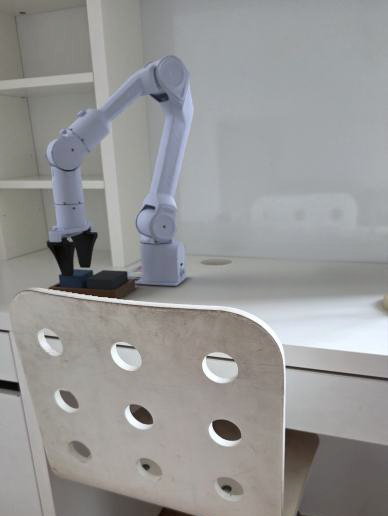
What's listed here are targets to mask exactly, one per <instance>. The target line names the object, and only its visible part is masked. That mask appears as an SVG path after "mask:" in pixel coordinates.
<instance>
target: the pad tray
mask: <svg viewBox="0 0 388 516" xmlns="http://www.w3.org/2000/svg"><path fill="white" fill-rule="evenodd" d="M49 289H53V290H60V291H66V292H72V293H78V294H85V295H92V296H98V297H108V298H117V299H119V300H121V299H122V298H123V297H125V296H127V295H128V294H129V293H131V292H133V291H134V290H135V289H136V279H128V281H127V282H126V283H124V284H122V285H121V286H119V287H117V288H116V289H114V290H103V289H85V288H67V287H60V282H57V283H55V284H53V285H50V286H49V287H48V290H49Z"/></svg>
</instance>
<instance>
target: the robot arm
mask: <svg viewBox="0 0 388 516" xmlns="http://www.w3.org/2000/svg"><path fill="white" fill-rule="evenodd" d="M191 77H192V75H191V73H190V71H189V70H188V68H187V66H186V65H185V63H184V62H183V61H182V59H181V58H179V57H177V56H176V55H174V54H173V55H171V54H168V55H165V56H163V57H162V58H160V59H157V60H154V61H150V62H147V63H146V64H145V65H143V67H142V68H140V69H138V70H137V71H136V72H134V73H132V75H130V76H129V77H128V78H127V79H126V80H125V81H124V82H123V83H122V84H121V85H120V86H119V87H118V88H117V89H116V90H115V92H113V93H112V95H111V96H110V97H108V99H107V100H106V101H105V102H104V103H103V104H101V105H100V107H99V108H98V109H97V108H87V109H86V110H84V109H82V110H79V112H78V113H77V114H76V116H77V117H78V118H76V120H74V122H72V123H71V124H70V125H69V126H68V127H67V128H66V129H65V128H62V129H61V130H60V131H59V134H60V136H61V137H58V138H55V139H53V140H52V141H50V142H49V144H48V145H47V147H46V150H45V151H46V153H45V154H44V157H45V159H46V162H47V163H48V165H49V166H50V174H51V187H52V195H53V204H54V211H55V219H56V220H55V221H56V224H55V225H53V226H52V227H51V229H52V230H50V231H48V236H49V237H48V238H49V240H46V247H47V248H48V250H49V251H50V252H51V254H52V255H53V257H54V259H55V261H56V263H57V266H58V268H59V271H60V274H62V276H73V272H74V269H75V267H74V266H75V265H74V260H75V259H74V258H75V251H76V257H77V262H78V266H79V268H81V269H90V268H91V265H92V261H93V259H92V258H93V252H94V247H95V244H96V241H97V239H98V236H99V233H98V232H97V231H94V221H93V220H88V221H87V217H86V208H85V207H86V206H85V198H84V187H83V178H82V172H81V166H82V164H83V162H84V158H85V156H88V154H90V152H92V151H93V149H95V148H96V147H97V146H98V145H99V144H100V143H101V142H102V141H103V140H104V139H105V138H107V136H108V135H109V134H110V131H111V129H110V128H111V123H112V122H113V121H114V120H115V119H116V118H118V117H119V115H121V114H122V113H123V112H124V111H125V110H126V109H128V108H129V107H130V106H131V105H132V104H134V102H136V101H137V100H139V98H141V97H144V96H148V95H149V96H150V97H151V98H152V100H154V101H155V102H157V104H158V105H159V106H160V108H161V110H162V111H163V113H164V114H165V120H164V125H163V129H162V133H161V138H160V143H159V147H158V152H157V157H156V161H155V165H154V170H153V175H152V178H151V184H150V188H149V192H148V194H147V195H146V197H144V200H143V202H142V204H141V205H142V206H141V208H140V209H139V210H138V212H137V213H136V215H135V218H134V226H135V229H136V230H137V232H138V233H139V234H140V238H139V250H140V252H139V253H140V266H141V269H142V278H141V279H137V280H135V285H145V286H146V285H147V286H148V285H149V286H167V287H177V286H178V285H180V284H181V283H182V282H184V280H186V279H187V278H188V276H187V273H186V272H187V270H186V267H187V266H186V248H185V244H184V243H183V242H182V241H175V240H174V237H175V235H176V234H177V231H178V220H177V212H178V206H177V204H176V200H175V196H176V192H177V187H178V182H179V179H180V174H181V169H182V165H183V162H184V157H185V152H186V148H187V143H188V139H189V134H190V131H191V127H192V121H193V117H194V111H195V109H194V102H193V97H192V92H191V86H190V83H191ZM69 238H70V239H71V241H70V239H69Z"/></svg>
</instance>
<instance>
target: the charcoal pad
mask: <svg viewBox="0 0 388 516" xmlns="http://www.w3.org/2000/svg"><path fill="white" fill-rule="evenodd" d="M127 273H128V271H127V270H109V269H108V270H106V269H102V270H100V271H99V272H96V273H94V274H93V276H91V277H89V278H87V279H86V280H87V289H103V290H114V289H116V288H117V287H119V286H121V285H122V284H124V283H126V282H127V281H128V274H127Z"/></svg>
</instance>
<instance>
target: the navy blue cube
mask: <svg viewBox="0 0 388 516" xmlns="http://www.w3.org/2000/svg"><path fill="white" fill-rule="evenodd" d="M93 275H94V270H93V269H77V268H74V272H73V276H62V274H61V273H60V274H58V280H59V282H60V287H67V288H85V289H87V280H86V279H87V278H89V277H91V276H93ZM59 282H58V283H59Z"/></svg>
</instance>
